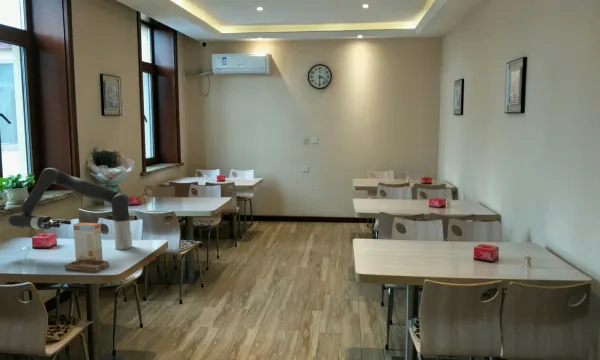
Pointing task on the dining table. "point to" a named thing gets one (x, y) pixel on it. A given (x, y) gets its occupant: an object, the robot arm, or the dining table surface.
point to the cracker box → (88, 241)
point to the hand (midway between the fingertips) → (65, 224)
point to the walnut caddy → (86, 265)
